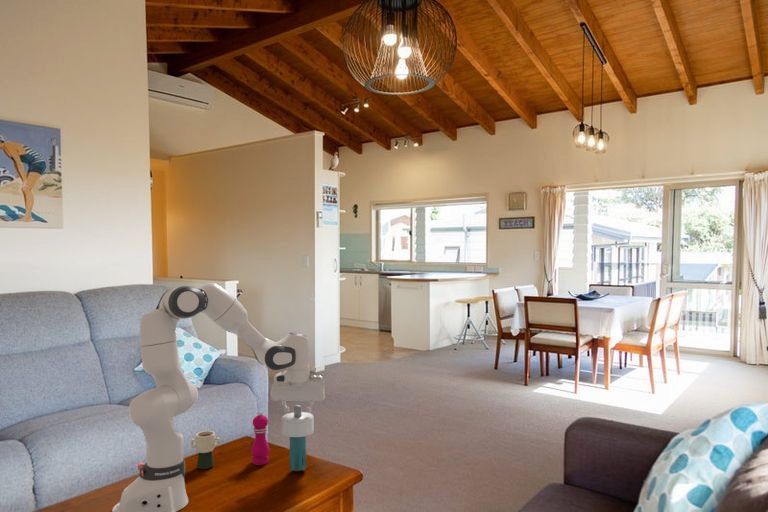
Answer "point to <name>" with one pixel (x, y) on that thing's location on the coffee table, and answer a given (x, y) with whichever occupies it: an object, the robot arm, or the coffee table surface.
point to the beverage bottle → (297, 453)
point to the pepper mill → (260, 440)
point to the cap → (297, 423)
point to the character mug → (205, 448)
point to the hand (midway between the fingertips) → (297, 412)
